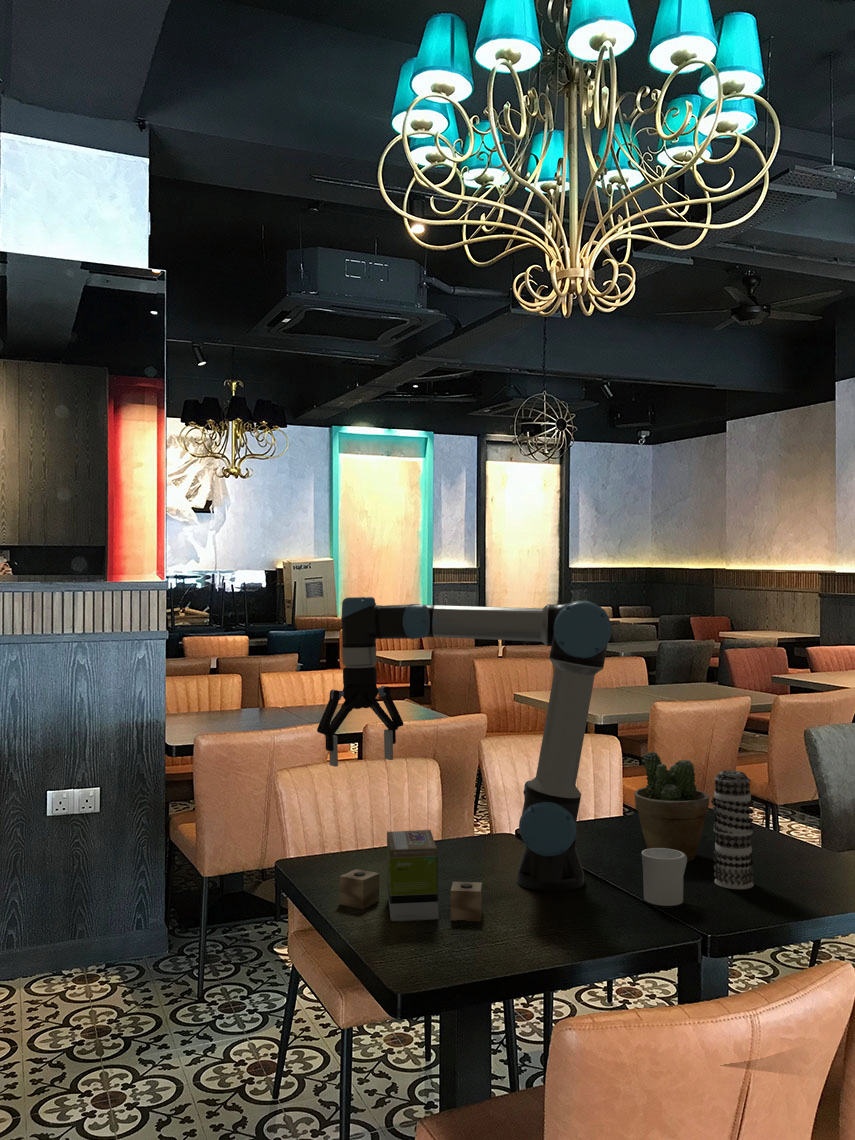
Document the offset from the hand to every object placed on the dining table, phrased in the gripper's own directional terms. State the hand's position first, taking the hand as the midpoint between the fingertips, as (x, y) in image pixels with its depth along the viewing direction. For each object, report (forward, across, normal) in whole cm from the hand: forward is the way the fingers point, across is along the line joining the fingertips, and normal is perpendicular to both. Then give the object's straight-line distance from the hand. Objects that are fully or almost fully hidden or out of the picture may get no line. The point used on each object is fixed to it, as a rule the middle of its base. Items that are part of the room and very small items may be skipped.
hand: (361, 762), depth 208 cm
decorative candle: (+30, -74, +38) cm, 89 cm away
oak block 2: (+29, -11, +24) cm, 40 cm away
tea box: (+29, -4, +15) cm, 33 cm away
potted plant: (+30, -79, +14) cm, 86 cm away
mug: (+30, -52, +39) cm, 72 cm away
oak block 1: (+29, +4, +6) cm, 29 cm away
